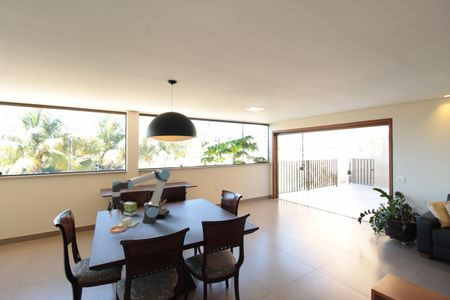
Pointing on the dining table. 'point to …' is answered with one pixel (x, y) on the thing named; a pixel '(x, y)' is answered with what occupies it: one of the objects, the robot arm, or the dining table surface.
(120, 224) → the parts tray
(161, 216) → the coral
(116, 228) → the bowl
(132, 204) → the tea box
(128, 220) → the cream rectangular block
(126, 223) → the pale grey block
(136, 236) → the dining table surface
